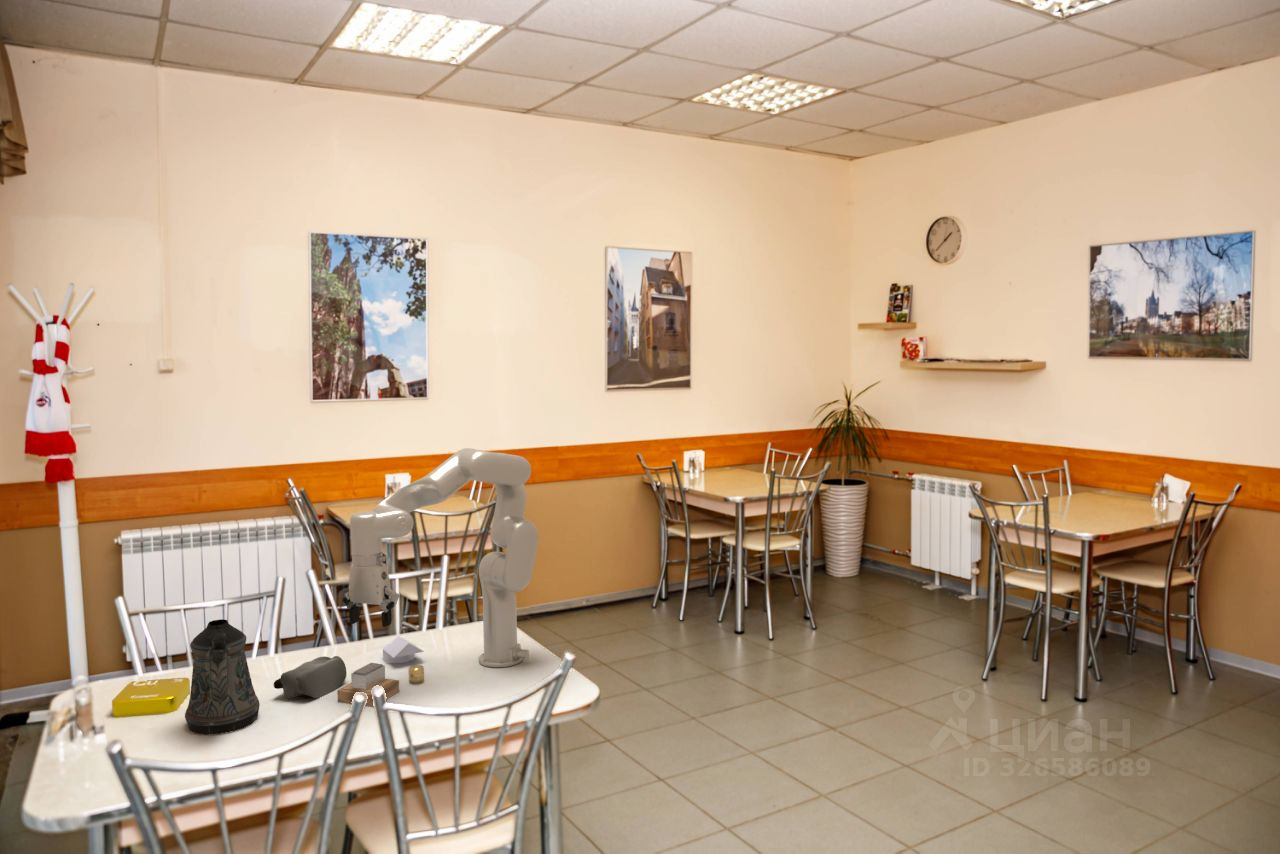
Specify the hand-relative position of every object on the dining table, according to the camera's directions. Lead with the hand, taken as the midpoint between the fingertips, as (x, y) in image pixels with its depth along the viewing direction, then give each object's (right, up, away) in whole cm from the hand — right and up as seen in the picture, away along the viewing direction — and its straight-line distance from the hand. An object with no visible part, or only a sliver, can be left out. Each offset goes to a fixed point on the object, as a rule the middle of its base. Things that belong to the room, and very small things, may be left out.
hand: (370, 624), depth 240 cm
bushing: (+9, -18, +10) cm, 23 cm away
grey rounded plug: (-17, -19, +5) cm, 26 cm away
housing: (0, -16, 0) cm, 16 cm away
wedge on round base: (+1, -17, +28) cm, 33 cm away
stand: (0, -19, 0) cm, 19 cm away
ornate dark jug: (-30, -21, -16) cm, 40 cm away
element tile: (-55, -20, -3) cm, 59 cm away
